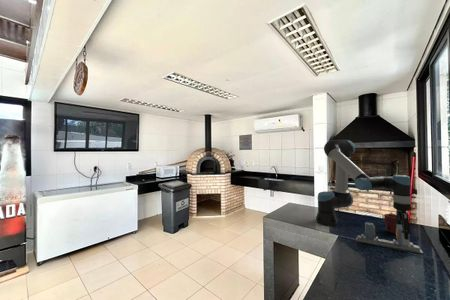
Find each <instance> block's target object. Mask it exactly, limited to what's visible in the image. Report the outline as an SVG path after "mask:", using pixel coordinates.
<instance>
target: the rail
mask: <svg viewBox="0 0 450 300" xmlns="http://www.w3.org/2000/svg"><path fill="white" fill-rule="evenodd" d="M364 232H365V233H361V235H359V234H357V236H355V242H357V243H361V244H362V243H363V244H368V245H372V246H373V245H374V246H379V247H384V248H389V249H396V250H399V251H405V252H409V253H410V252H411V253H416V254H422V255H424V252H423V250H422V249H421V247H420V246H419V245H418V244H417V245H416V244H414V243H413V242H410V246H403V245H399V244H398V242H397V239H392V240H387V239H381V238H379V236H376V227H375V225H374V223H373V222H367V221H365V222H364ZM364 234H365V235H364Z"/></svg>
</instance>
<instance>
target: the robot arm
mask: <svg viewBox="0 0 450 300" xmlns="http://www.w3.org/2000/svg"><path fill="white" fill-rule="evenodd" d="M323 152H324V154H325V155H326V157H328V158H329V159H331V160H332V161H334V162H335V177H334V178H335V182H334V185H335V186H334V188H333V189H332V191H329V190H328V191H327V190H326V191H325V190H324V191H320V192H318V193H317V213H316V216H315V222H316V221H317V222H318V223H317V222H316V223H317V224H319V223H320V225H322V224H323V226H328V225H329V226H331V225H334V226H337V225H338V219H337V216H336V212H335V210H336V209H342V208H343V209H344V208H350V207H352V205H353V203H354V197H353V194H352V193H351V191H350V190H349V189H348V188H349V187H348V186H349V177H350V178H351V179H352V180H354V186H355V187H356V189H357V190H359V191H372V190H373V191H375V190H376V191H377V190H389V191H392V193H393V194H392V195H391V197H392V200H393V203H392V205H393V206H392V207H393V209H395V211H396V212H395V215H396V220H395V221H396V223H397V227H402V229H403V231H402V232H401V233H402V239H403V245H409V246H410V240H411V239H410V235H411V234H412V233H411V226H410V217H409V216H410V215H409V214H408V213H407V212H410V211H412V204H411V203H412V195H411V187H412V183H411V177H410V176H408V175H405V174H393V175H392V177H389V176H382V175H374V176H371V177H370V176H368V175H367V174H366V173H365V172H364V171H363V170H362V169H361V168H360V167H359V166H357V165H356V163H354V162H353V161H352V160H351V158H352V155H353V154H354V153H355V152H356V146H355V143H354V142H353V141H351V140H349V139H331V140H329V141H327V142H325V144H324V146H323ZM401 224H402V225H401Z"/></svg>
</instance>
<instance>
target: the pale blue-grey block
mask: <svg viewBox="0 0 450 300" xmlns="http://www.w3.org/2000/svg"><path fill="white" fill-rule="evenodd" d="M402 231H403V229H402V227H397V229H396V234H395V236H396V237H395V238H396V242H398V244H399V245H403V239H402V233H401V232H402ZM403 246H409V245H403Z"/></svg>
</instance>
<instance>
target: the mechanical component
mask: <svg viewBox="0 0 450 300" xmlns="http://www.w3.org/2000/svg"><path fill="white" fill-rule="evenodd" d="M383 217H384V218H382V221H383V223H385V230H386V232H388V233H391V234H394V235H396V229H397V223H396V221H395V220H396V213H391V212H390V213H384V215H383ZM401 225H402V224H401Z"/></svg>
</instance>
